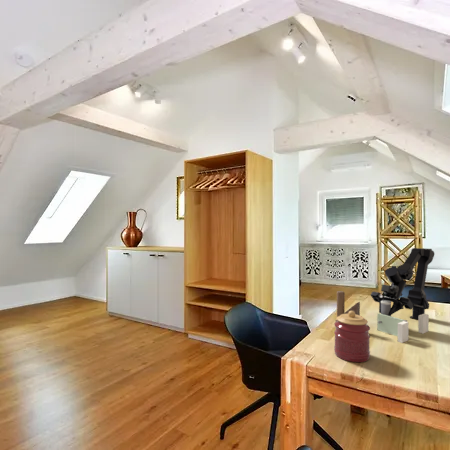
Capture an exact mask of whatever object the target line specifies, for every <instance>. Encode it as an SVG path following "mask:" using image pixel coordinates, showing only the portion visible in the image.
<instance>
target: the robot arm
mask: <svg viewBox="0 0 450 450" xmlns="http://www.w3.org/2000/svg"><path fill="white" fill-rule="evenodd" d="M434 257H435V251H434V250H433V249H432V248H420V247H419V248H417V247H413V248H411V251H410V253H409V255H408V256H407V258H406V259H405V261H404V263H403V264H401V265H398V266H395V265H392V266H391V267H389V268H387V269H386V270H384V274H385V276H386V278H387V279H388V281H389V282H390V283H391V284H390V285H389V284H382V285H381V289H380V291H381V292H383V294H384V295H382V294H381V292H377V291H372V292H371V294H370V297H371V298H372V300H373V301H374V302H375V303H379V305H378V306H379V307H378V312H379V314H381V301H382V300H386V301H391V303H392V304H391V309H390V311H389V316H390V315H391V316H392V315H393V314H395V313H397V312H399V311H401V310H403V309H407V310H412V311H411V312H412V315H411V316H409V318H410V319H414V320H418V316H419V315H422V314H426V312H425V311H426V310H429V308H430V303H429V302H428V300H427V294H426V292H425V285H426V280H427V279H426V278H427V273H428V267H429V265H430V264H431V263H432V262H433V259H434ZM416 265H417V267H416ZM415 267H416V272H415V278H414V283H413V288H411V289H409V290H408V295H407V297H404V296H403V295H404V294H403V292H404V289H405V288H408V286H407V283H406V281H411V279H412V278H413V276H414V272H413V270H414V268H415Z"/></svg>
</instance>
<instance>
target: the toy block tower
mask: <svg viewBox="0 0 450 450" xmlns="http://www.w3.org/2000/svg"><path fill="white" fill-rule="evenodd" d="M345 295H346V294H345V291H343V290H338V291H336V318H337V317H338V316H340V315H341V314H348V313H349V311H354V312H355V314H356V315H360V314H361V313H360V312H361V311H360V310H361V309H360V307H361V303H360V301H358V302H356V303H355V304H354V305H353V306H351V307H350V308H349V309H347V310H345V297H346V296H345ZM360 316H361V315H360ZM336 321H338V320H337V319H336V320H335V322H336ZM335 322H334V323H335ZM334 327H335V328H336V326H335V325H334Z"/></svg>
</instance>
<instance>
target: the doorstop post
mask: <svg viewBox="0 0 450 450" xmlns="http://www.w3.org/2000/svg"><path fill="white" fill-rule="evenodd" d="M391 307H392V302H391V301H386V300H382V301H381V313H380V314H383V315H387V316H389V311H390V309H391ZM390 316H391V317H392V315H390Z"/></svg>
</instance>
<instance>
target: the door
mask: <svg viewBox="0 0 450 450" xmlns="http://www.w3.org/2000/svg"><path fill="white" fill-rule="evenodd" d="M376 317H377V319H376V320H377V330H376V331H380V332H383V333H385V334H389V335H392V336H395V337H396V336H397V337H398V323H400V322H403V321H405V322H408V320H406V319H402V318H399V317H394V316H392V315H391V316H387V315H383V314H381V313H377V316H376Z"/></svg>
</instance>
